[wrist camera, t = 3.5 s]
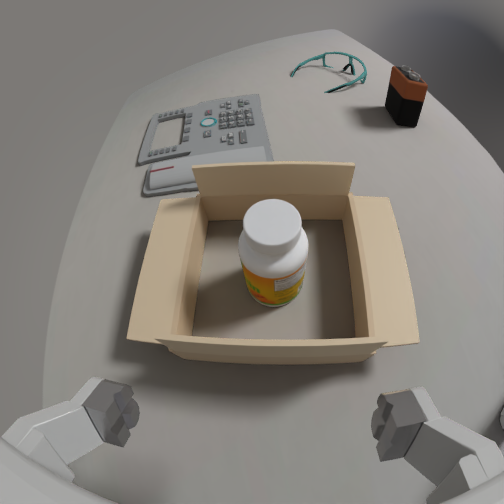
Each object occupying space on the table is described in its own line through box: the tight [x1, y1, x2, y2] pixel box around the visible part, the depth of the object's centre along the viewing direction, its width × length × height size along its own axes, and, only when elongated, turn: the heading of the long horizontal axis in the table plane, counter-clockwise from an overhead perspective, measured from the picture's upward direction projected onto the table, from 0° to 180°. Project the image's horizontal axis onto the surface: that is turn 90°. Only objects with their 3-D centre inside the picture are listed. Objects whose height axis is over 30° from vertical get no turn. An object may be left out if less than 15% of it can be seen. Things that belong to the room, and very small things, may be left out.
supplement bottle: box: [238, 199, 308, 307], centre depth 23 cm, size 5×5×10 cm
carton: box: [127, 161, 420, 365], centre depth 24 cm, size 16×24×8 cm, turn 87°
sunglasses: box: [291, 52, 367, 93], centre depth 49 cm, size 14×15×5 cm
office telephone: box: [138, 94, 274, 197], centre depth 40 cm, size 23×3×20 cm
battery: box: [385, 65, 428, 127], centre depth 37 cm, size 4×7×10 cm, turn 179°
